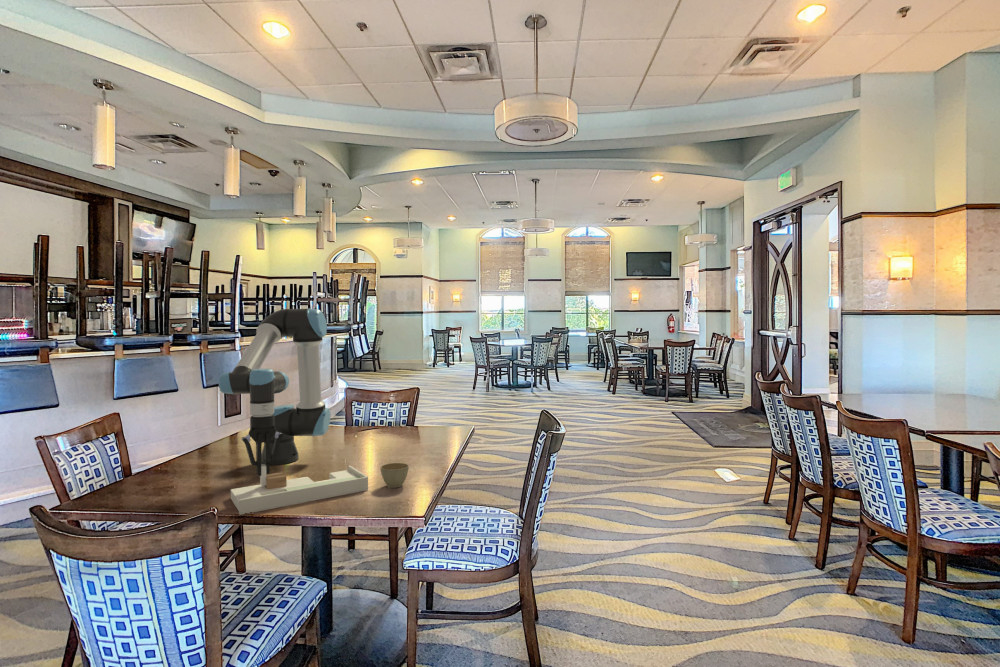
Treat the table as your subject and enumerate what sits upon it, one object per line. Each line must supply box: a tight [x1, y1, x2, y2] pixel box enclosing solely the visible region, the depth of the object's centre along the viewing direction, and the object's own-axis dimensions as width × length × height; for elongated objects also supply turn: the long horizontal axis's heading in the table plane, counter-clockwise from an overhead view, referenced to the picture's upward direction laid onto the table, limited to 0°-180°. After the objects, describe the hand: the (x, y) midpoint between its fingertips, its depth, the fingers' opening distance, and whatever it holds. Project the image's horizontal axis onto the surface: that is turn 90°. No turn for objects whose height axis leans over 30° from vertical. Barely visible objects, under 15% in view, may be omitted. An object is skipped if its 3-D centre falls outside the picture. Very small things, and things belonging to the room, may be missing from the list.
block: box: [265, 471, 287, 489], centre depth 181 cm, size 6×6×4 cm
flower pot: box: [380, 462, 410, 489], centre depth 190 cm, size 10×10×7 cm
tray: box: [230, 465, 369, 516], centre depth 181 cm, size 19×41×4 cm, turn 125°
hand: (263, 484), depth 179 cm, fingers closed
